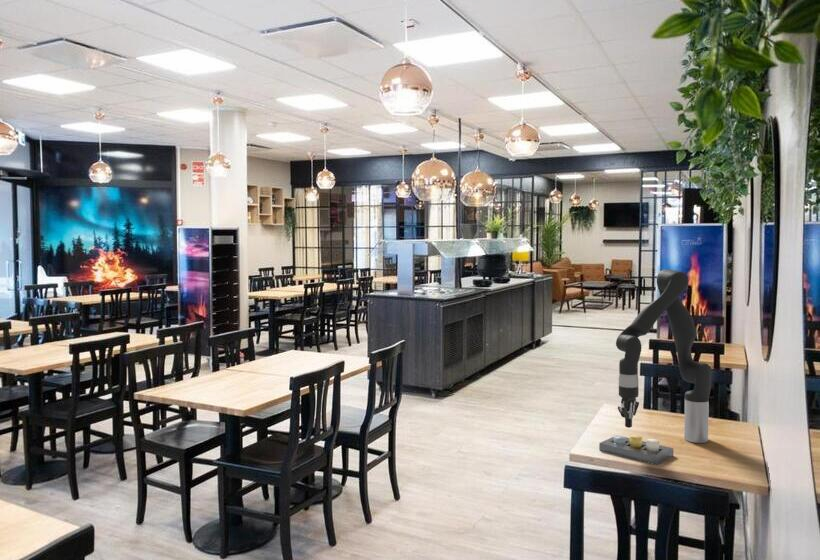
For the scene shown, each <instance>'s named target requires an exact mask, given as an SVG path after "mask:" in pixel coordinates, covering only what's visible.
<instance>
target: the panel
mask: <svg viewBox="0 0 820 560" xmlns="http://www.w3.org/2000/svg"><path fill="white" fill-rule="evenodd" d="M615 436H619V435H615ZM624 437H625V438H626V443H625V444H623V445H621V444H617V443H614V436H611V437H609V438H608V439H605V440H603V441H601V442H599V445H598V446H599V451H601V452H604V453H608V454H611V455H612V454H613V455H616V456H621V457H625V458H628V457H629V458H628V459H632V458H633V459H632V460H636V459H637V460H636V461H640V460H641V462H644V461H646V462H645V463H647V462H649V463H648V464H651V463H653V465H655V464H656V466H658V465H660V464H661V463H663V462H665V461H666V460H669V459H670V458H672V457H673V456H674V447H669V446H665V445H661V444H659V452H657V453H654V452H650V451H646V450H647V441H644V440H642V448H640V449H638V448H633V447H630V437H628V436H627V437H626V436H624Z"/></svg>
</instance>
